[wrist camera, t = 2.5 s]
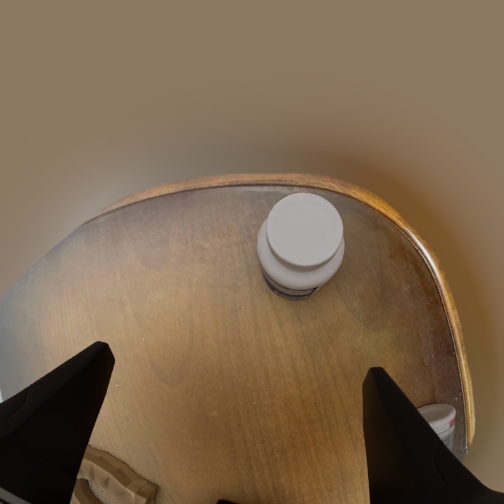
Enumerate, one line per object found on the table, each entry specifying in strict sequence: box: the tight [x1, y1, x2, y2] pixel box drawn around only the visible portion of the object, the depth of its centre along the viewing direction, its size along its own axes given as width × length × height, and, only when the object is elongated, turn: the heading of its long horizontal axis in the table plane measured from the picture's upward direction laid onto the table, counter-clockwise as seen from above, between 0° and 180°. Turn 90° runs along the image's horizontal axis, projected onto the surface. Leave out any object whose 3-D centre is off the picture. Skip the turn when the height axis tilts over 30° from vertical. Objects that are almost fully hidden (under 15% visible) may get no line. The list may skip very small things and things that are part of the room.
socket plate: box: [70, 445, 158, 504], centre depth 17 cm, size 11×11×3 cm
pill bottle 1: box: [257, 193, 345, 300], centre depth 19 cm, size 5×5×10 cm
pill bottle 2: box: [417, 404, 456, 452], centre depth 15 cm, size 5×5×8 cm
